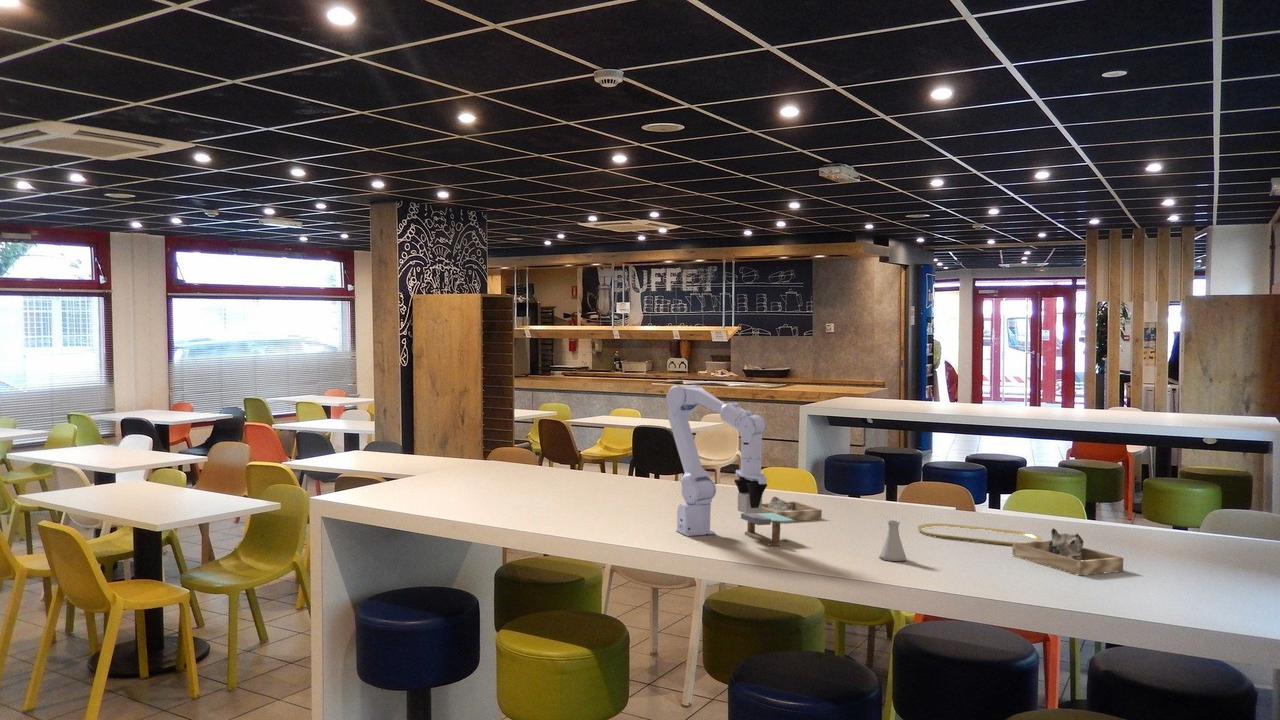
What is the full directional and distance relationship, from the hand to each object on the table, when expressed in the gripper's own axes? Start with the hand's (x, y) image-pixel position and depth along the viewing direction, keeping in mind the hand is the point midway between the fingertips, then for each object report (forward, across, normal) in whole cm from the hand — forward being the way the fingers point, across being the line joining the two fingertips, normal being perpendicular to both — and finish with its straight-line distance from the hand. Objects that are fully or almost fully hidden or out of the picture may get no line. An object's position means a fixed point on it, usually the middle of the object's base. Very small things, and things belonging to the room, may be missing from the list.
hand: (749, 505), depth 251 cm
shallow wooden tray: (+10, -45, -70) cm, 84 cm away
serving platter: (+11, -11, -72) cm, 74 cm away
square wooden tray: (+10, +32, -31) cm, 46 cm away
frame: (+10, +2, -6) cm, 12 cm away
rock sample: (+11, +32, -28) cm, 44 cm away
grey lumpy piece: (+10, -45, -70) cm, 84 cm away
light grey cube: (-1, 0, 0) cm, 1 cm away
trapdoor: (+5, +2, -7) cm, 9 cm away
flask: (+11, -28, -28) cm, 41 cm away
